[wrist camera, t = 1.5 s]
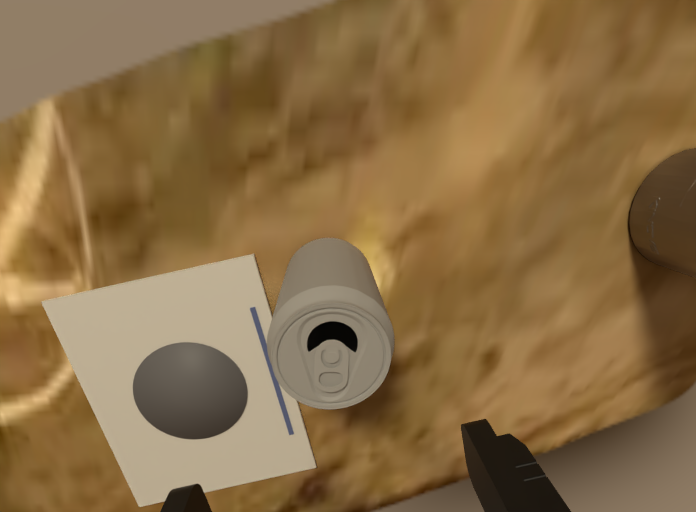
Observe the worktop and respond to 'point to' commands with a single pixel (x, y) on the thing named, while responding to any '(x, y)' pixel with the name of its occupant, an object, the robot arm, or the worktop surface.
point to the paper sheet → (184, 378)
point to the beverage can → (330, 327)
